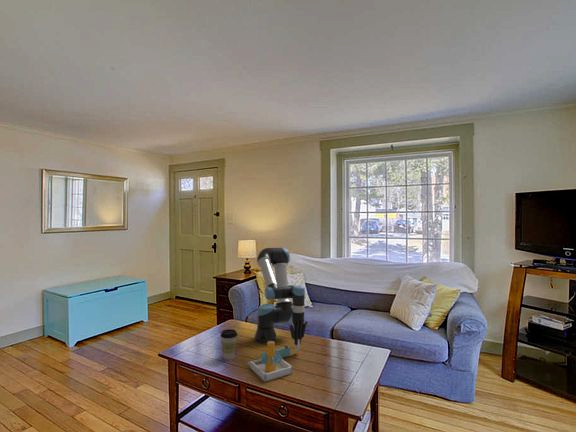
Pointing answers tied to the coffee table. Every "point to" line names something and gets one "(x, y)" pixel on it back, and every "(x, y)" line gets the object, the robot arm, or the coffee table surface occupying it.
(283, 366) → the white square tray
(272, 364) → the orange tube with rings
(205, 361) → the coffee table surface
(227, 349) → the coffee cup
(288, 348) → the gate
